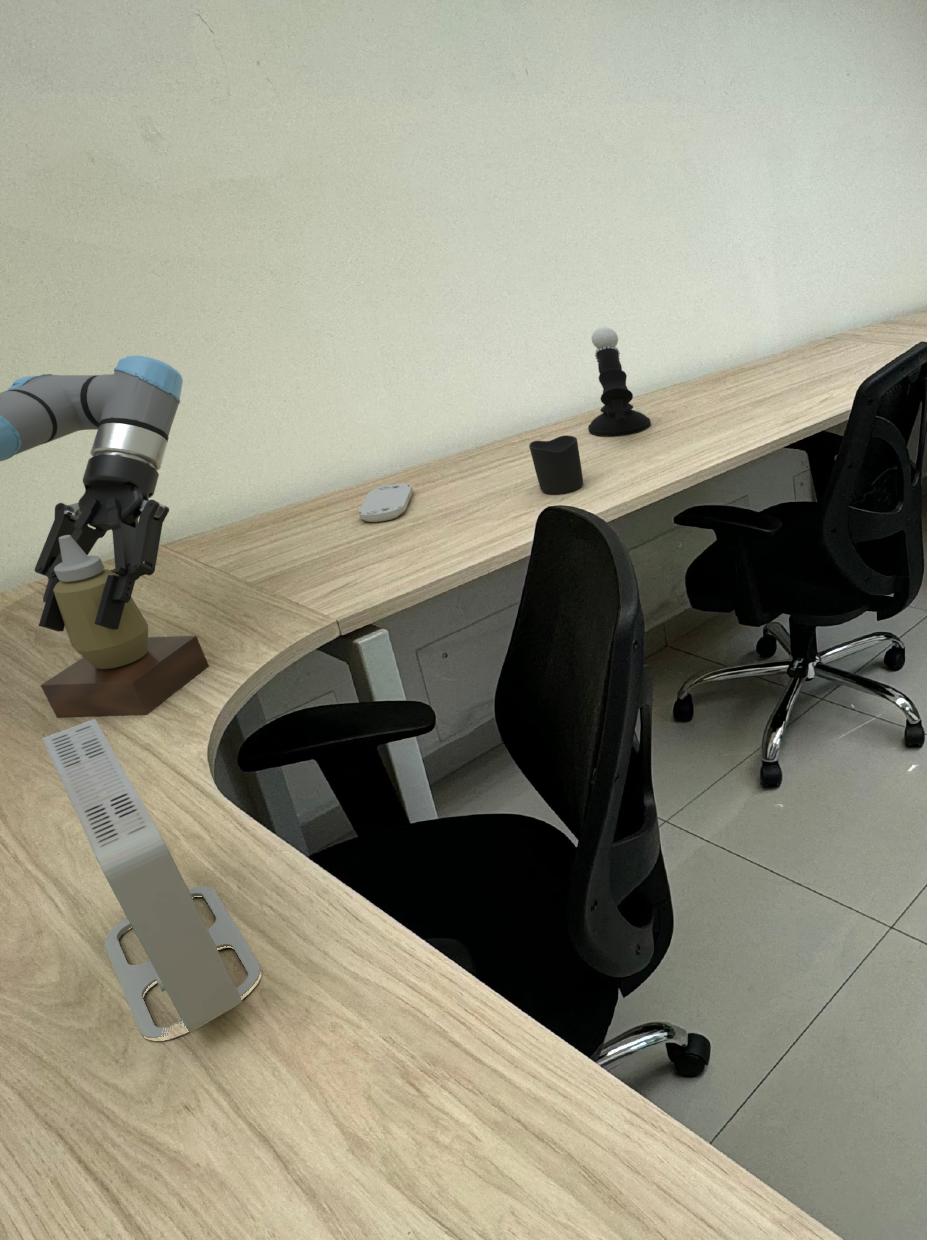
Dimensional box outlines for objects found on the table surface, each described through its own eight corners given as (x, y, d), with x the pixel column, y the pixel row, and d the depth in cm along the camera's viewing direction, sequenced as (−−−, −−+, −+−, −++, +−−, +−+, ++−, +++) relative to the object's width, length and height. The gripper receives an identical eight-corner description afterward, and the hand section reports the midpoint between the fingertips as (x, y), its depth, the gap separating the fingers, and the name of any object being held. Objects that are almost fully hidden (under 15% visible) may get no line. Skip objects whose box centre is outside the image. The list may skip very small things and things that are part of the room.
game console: (400, 508, 177) (354, 514, 175) (404, 519, 178) (357, 526, 176) (413, 479, 193) (370, 484, 191) (416, 489, 194) (373, 495, 192)
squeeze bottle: (166, 638, 127) (114, 520, 119) (147, 666, 120) (90, 542, 112) (97, 651, 124) (39, 530, 117) (73, 680, 118) (10, 555, 110)
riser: (56, 717, 119) (40, 685, 117) (126, 668, 130) (112, 638, 128) (146, 714, 119) (131, 682, 117) (209, 665, 130) (196, 635, 128)
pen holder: (572, 496, 187) (563, 449, 182) (530, 495, 188) (520, 449, 184) (593, 480, 195) (584, 435, 191) (552, 479, 197) (543, 435, 192)
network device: (284, 1006, 77) (199, 822, 69) (160, 1080, 71) (51, 889, 63) (200, 866, 93) (122, 702, 84) (93, 917, 87) (-2, 747, 78)
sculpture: (647, 416, 239) (632, 319, 228) (658, 441, 219) (642, 336, 208) (587, 423, 235) (569, 325, 224) (592, 450, 214) (573, 343, 204)
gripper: (215, 473, 127) (176, 632, 119) (79, 478, 128) (30, 637, 120) (174, 449, 120) (129, 616, 112) (29, 454, 121) (-25, 622, 113)
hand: (78, 627), depth 116 cm, fingers closed on squeeze bottle, 6 cm apart
